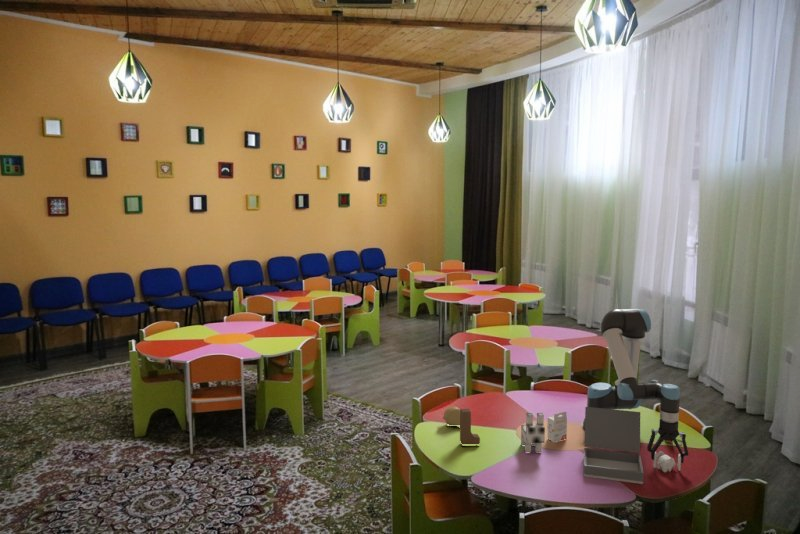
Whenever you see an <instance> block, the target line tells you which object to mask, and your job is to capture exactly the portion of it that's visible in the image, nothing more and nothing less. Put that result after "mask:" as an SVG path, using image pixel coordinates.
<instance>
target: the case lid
mask: <svg viewBox="0 0 800 534" xmlns="http://www.w3.org/2000/svg"><path fill="white" fill-rule="evenodd" d="M584 408H585V409H584V411H585V412H584V413H585V414H584V415H585V417H584V419H585V429H584V440H583V441H584V443H583V444H584V445H583V446H584V448H593V449H602V450H610V451H619V452H627V453H636V454H640V453H641V411H633V410H625V409H603V408H593V407H587V406H585V407H584Z"/></svg>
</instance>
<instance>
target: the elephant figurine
mask: <svg viewBox="0 0 800 534" xmlns="http://www.w3.org/2000/svg"><path fill="white" fill-rule="evenodd" d="M656 454H657V455H656V468H657V469H659V470H661V471H662V472H663V473H667V472H671V471H672V469H674V468H676V466H678V463H676V462H675V459H674V458H673V457H671V456H669V455H668V454H665V453H664V451H661V450H660V451H658V452H656Z"/></svg>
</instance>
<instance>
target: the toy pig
mask: <svg viewBox="0 0 800 534" xmlns="http://www.w3.org/2000/svg"><path fill="white" fill-rule="evenodd" d="M460 409H461V408H459V407H457V406H454V405H453V406H450V407H448V408H446V409H445V411H444V413H443V417H442V420H444V421H445V424H446V425H447V424H449V425H460Z"/></svg>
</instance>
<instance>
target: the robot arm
mask: <svg viewBox="0 0 800 534" xmlns="http://www.w3.org/2000/svg"><path fill="white" fill-rule="evenodd" d="M651 329H652V321H651V318H650V315H649V313H648V311H646V310H645V309H643V308H626V309H625V308H624V309H623V308H622V309H621V308H619V309H618V308H617V309H616V308H614V309H611V310H610V311H608V312H607V313H605V315H604V316H603V318H602V320H601V323H600V333H601V337H602V338H603V339H604V340H605V341H606V344H607V345H606V346H607V348H608V350H609V354H610V356H611V360H612V362H613V365H614V368H615V372H616V375H617V377H618V379H616V380H615V381H614V385H613V386H612V385H611V384H610V383H607V382H595V383H592V384H591V385H589V386H588V388H587V393H586V394H587V395H586V396H587V397H586V398H587V402H586V404H587V405H586V407H593V408H603V409H614V410H632V409H633V410H634V409H637V408H640V406H641V404H642V403H643V400H647V401H650V400H656V401H658V402H660V405H659V406H660V409H659V425H658V426H659V428H658V429H654V428H651V435H650V438H649V440H648V444H647V448H646V449H647V452H650V453H651V455H650V457H651V460H653V468H654V469H656V468H657V459H656V455H657V450H658V449H659V447H660V446H661V445H662V443H663V442H664V441H665V440H669V441H673V444H674V446H675V447H676V448H677V451H678V455H677V470H678V471H679V472H680V471H681V464H684V462H685V461H684V458H685V456H686V457H688V456H689V452H688V451H689V450H688V446H687V442H686V438H687V437H686V436H687V435H686V433H685V431H682V432H680V431H679V419H680V418H679V417H680V403H681V402H680V400H681V393H680V390H681V388H680V387H679V386H678V385H676V384H673V383H672V384H671V383H664V382H662V381H660V380H658V379H651V380H648V382H638V370H639V362H640V361H639V359H640V351H641V342H642V340H643V339H644V338H645V337H646V333H649V332H650V331H651ZM582 427H583V429H584V430H585V418H584V420H583V423H582ZM657 434H659V436H658V439H657V440H656V442H655V443H654V441H655V438H656V436H657ZM678 436H679V438H681V441H682V442H681V443H682V447H683V450H684V451H683V450H682V448H681V445H680V444H679V442H678V440H676V439H677V437H678ZM679 445H680V446H679Z"/></svg>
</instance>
